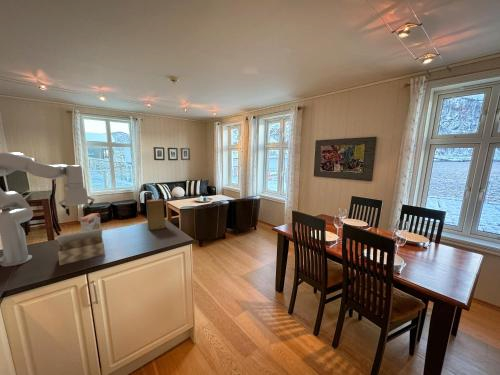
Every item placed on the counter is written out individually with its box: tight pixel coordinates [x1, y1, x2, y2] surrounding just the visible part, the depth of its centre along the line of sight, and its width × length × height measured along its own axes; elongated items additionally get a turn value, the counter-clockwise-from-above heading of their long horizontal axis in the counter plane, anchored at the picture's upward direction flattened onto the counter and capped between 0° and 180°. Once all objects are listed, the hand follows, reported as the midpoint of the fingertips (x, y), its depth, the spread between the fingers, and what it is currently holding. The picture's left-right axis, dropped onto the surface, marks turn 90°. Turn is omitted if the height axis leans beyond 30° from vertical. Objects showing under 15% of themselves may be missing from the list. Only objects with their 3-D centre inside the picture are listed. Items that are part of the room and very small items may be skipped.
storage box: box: [57, 235, 106, 266], centre depth 137 cm, size 22×14×8 cm, turn 129°
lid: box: [56, 227, 103, 245], centre depth 137 cm, size 22×14×1 cm
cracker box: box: [79, 212, 102, 239], centre depth 154 cm, size 14×6×21 cm, turn 8°
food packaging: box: [146, 198, 166, 231], centre depth 188 cm, size 13×9×25 cm
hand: (78, 213), depth 131 cm, fingers open, 8 cm apart
